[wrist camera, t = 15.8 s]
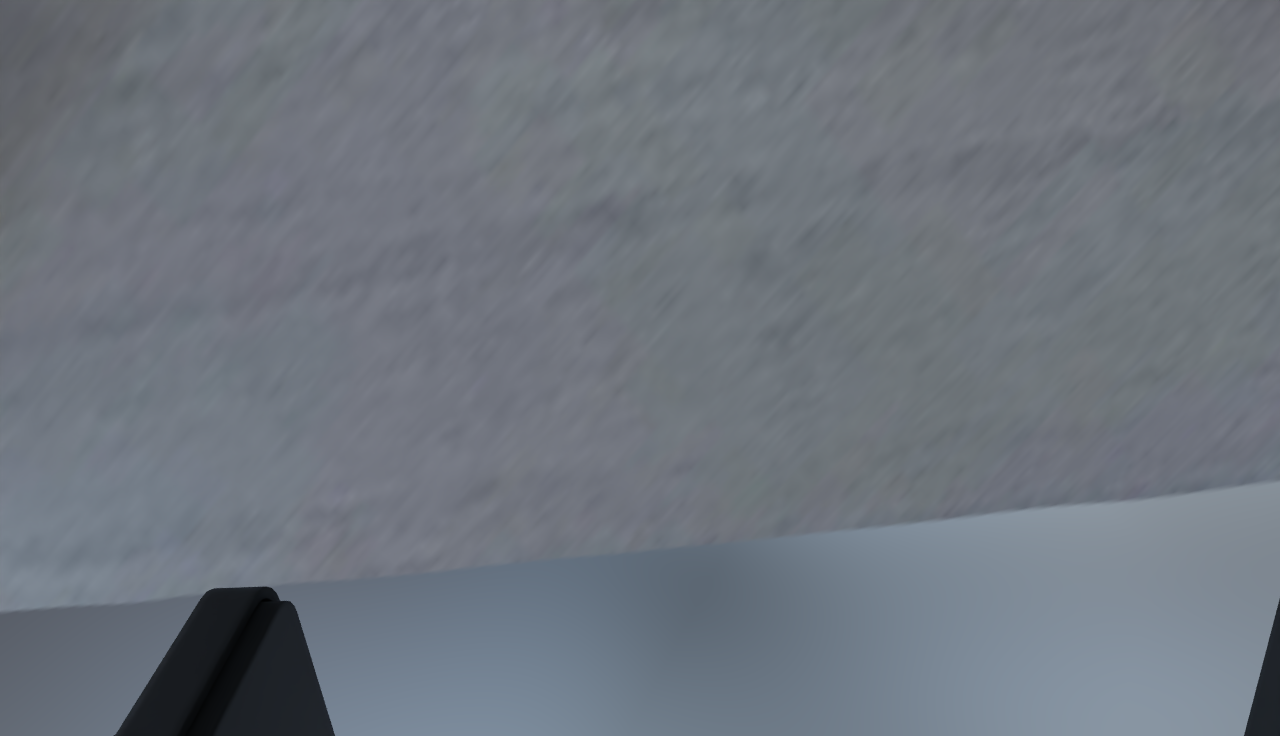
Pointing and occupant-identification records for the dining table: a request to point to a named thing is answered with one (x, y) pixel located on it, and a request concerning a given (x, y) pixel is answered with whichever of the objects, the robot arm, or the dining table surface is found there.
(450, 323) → the dining table surface
